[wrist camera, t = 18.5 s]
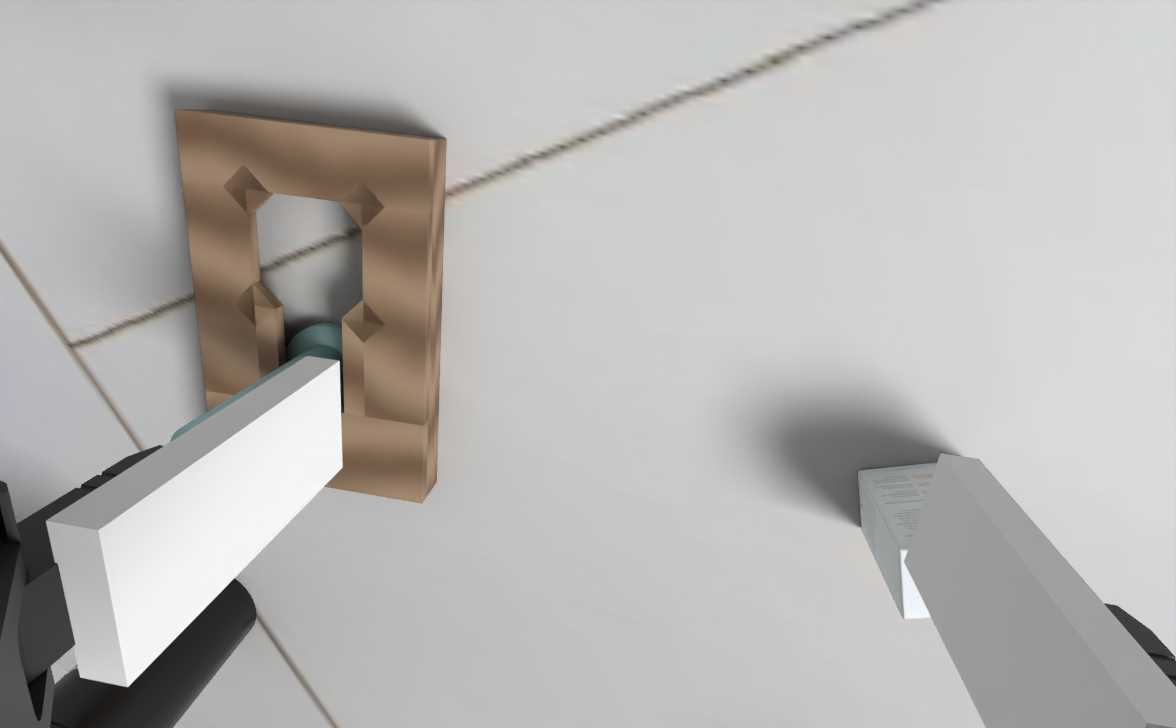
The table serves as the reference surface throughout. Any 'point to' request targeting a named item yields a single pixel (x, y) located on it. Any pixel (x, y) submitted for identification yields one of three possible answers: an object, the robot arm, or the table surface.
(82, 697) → the water bottle
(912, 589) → the small box
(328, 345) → the peg
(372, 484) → the keyhole board
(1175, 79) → the table surface
